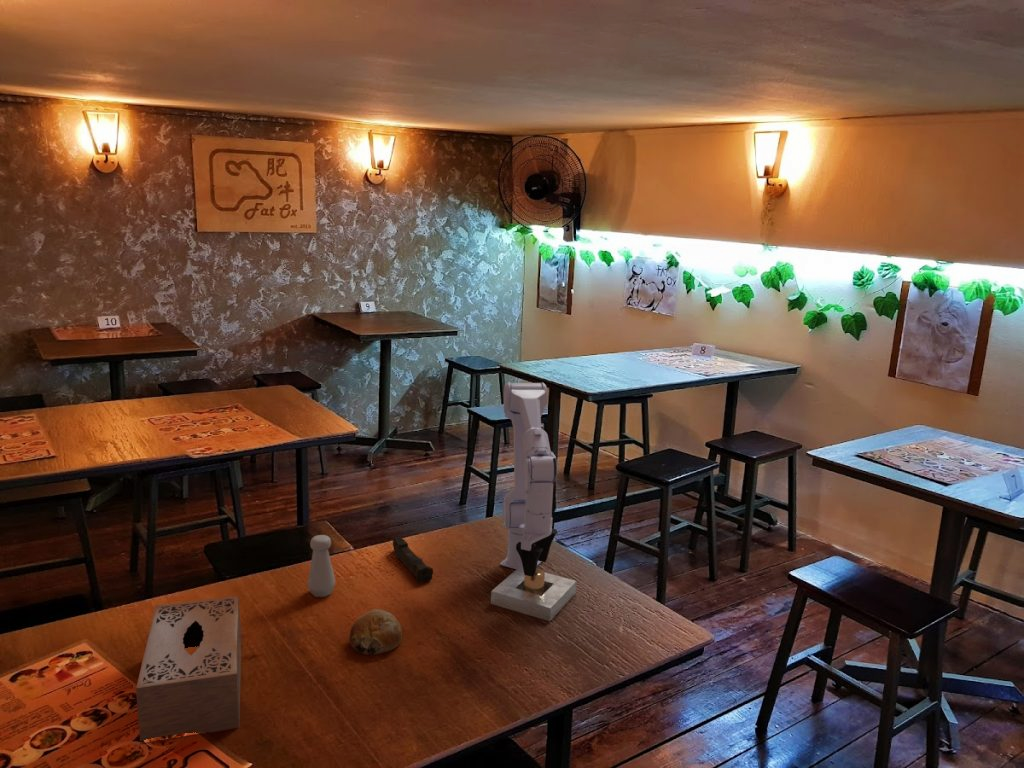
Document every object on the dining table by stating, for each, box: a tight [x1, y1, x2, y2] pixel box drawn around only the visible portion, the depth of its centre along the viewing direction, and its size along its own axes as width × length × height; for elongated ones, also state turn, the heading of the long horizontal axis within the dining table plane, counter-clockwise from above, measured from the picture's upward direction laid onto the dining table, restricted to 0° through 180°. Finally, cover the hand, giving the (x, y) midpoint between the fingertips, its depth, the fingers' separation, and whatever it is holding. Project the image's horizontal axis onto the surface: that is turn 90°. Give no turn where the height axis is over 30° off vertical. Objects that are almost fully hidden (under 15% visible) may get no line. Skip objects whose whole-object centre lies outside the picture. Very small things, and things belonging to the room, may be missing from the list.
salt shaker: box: [307, 534, 336, 598], centre depth 163 cm, size 6×6×13 cm
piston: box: [524, 568, 546, 596], centre depth 165 cm, size 4×4×6 cm
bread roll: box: [349, 608, 403, 656], centre depth 147 cm, size 10×10×8 cm
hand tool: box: [392, 536, 434, 584], centre depth 179 cm, size 19×4×5 cm, turn 28°
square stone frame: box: [490, 566, 577, 622], centre depth 166 cm, size 14×14×3 cm
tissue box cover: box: [135, 595, 242, 742], centre depth 130 cm, size 26×14×10 cm, turn 19°
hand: (535, 567), depth 164 cm, fingers open, 7 cm apart
